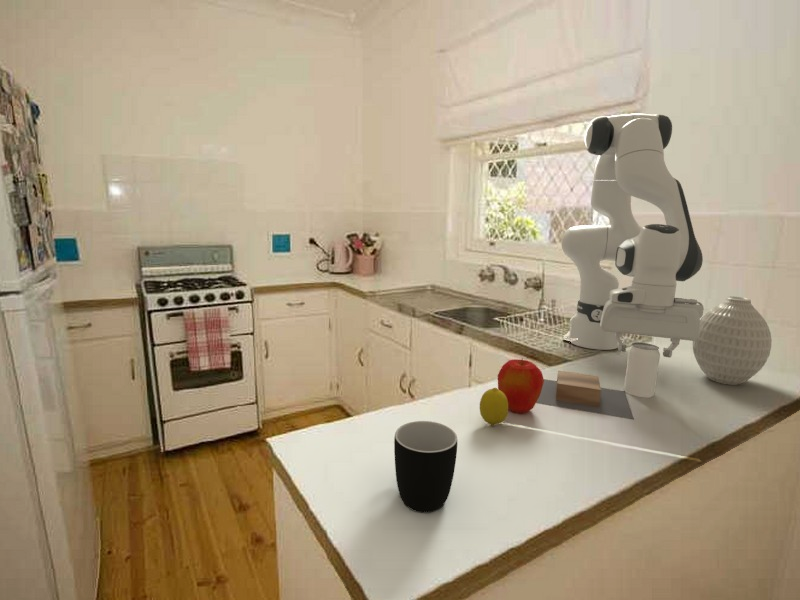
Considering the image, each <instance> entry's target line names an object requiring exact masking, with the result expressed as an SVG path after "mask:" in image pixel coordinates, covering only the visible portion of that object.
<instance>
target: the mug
mask: <svg viewBox="0 0 800 600" xmlns="http://www.w3.org/2000/svg"><path fill="white" fill-rule="evenodd" d="M393 443H394V447H393V449H394V450H393V451H394V467H395V468H394V469H395V477H396V485H397V490H398V494H399V496H400V499H401V501H402V503H403V504H404V505H405V506H406V507H408V508H409V509H411V510H412V511H414V512H417V513H432V512H436V511H438V510H440V509H441V508H442V507H443V506H444V505H445V504H446V501H447V499H448V497H449V495H450V492H451V489H452V488H451V487H452V484H453V480H454V475H455V468H456V462H457V461H456V460H457V452H458V436H457V434H456V432H455V431H454V430H453V429H452V428H451V427H449V426H447V425H445V424H443V423H441V422H440V423H439V422H436V421H430V420H428V421H427V420H417V421H410V422H407V423H405V424H402V425H401V426H400V427H398V428H397V429H396V431H395V433H394V441H393Z"/></svg>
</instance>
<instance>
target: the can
mask: <svg viewBox="0 0 800 600" xmlns="http://www.w3.org/2000/svg"><path fill="white" fill-rule="evenodd" d="M659 349H660V347H659V346H658V345H656V344H653V343H648V342H639V341H638V342H633V343H632V344H631V347H630V348H629V350H628V354H627V363H626V371H625V377H624V385H623V391H625V393H627V394H629V395H632V396H634V397H638V398H639V397H640V398H652V397H654V396H655V391H656V386H657V385H656V384H657V378H658V373H659V364H660V359H661V353H660V351H659Z"/></svg>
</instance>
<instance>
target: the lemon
mask: <svg viewBox="0 0 800 600" xmlns="http://www.w3.org/2000/svg"><path fill="white" fill-rule="evenodd" d="M508 412H509V408H508V401H507V397H506V396H505V394H504V393H503V392H502V391H500V390H498V387H493V388H490V389H487V390H486V391H485V392H484V393H483V394H482V396H481V398H480V402H479V414H480V416H481V418H482V419H483V420H484V422H485V423H487V424H489V425H490V426H492V427H494V426H496V425H499V424H501V423H503V422H504V421H505V420H506V419H507V416H508Z"/></svg>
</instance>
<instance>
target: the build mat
mask: <svg viewBox="0 0 800 600" xmlns="http://www.w3.org/2000/svg"><path fill="white" fill-rule="evenodd" d="M543 379H544V383H543V386H542V390H541V394H540V396H539V398H538V400H537V402H536V404H538V405H545V406H552V407H555V408H556V407H558V408H563V409H569V410H575V411H580V412H588V413H594V414H599V415H603V416H604V415H605V416H610V417H618V418H621V419H622V418H623V419H628V420H634V419H635V418H634V415H633V411H632V409H631V406H630V403H629V399H628V397H627V394H626V392H625V391H624V390H619V389H612V388H606V387H605V388H604V387H601V394H600V402H599V407H595V406H589V405H583V404H577V403H571V402H565V401H559V400H556V386H557V380H551V379H545V378H543Z"/></svg>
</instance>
